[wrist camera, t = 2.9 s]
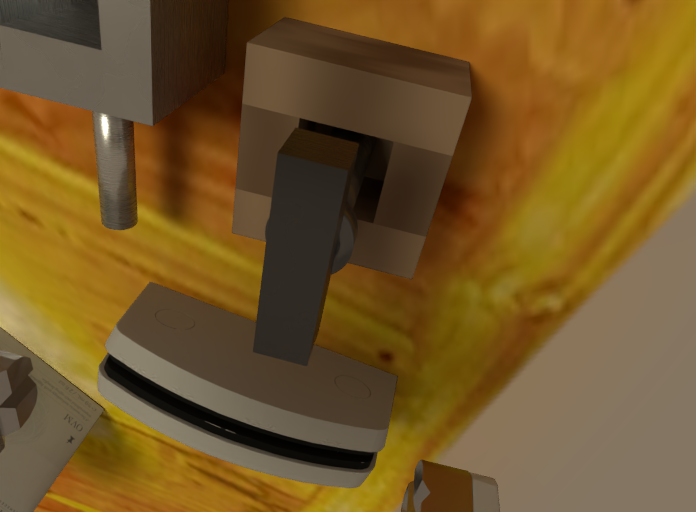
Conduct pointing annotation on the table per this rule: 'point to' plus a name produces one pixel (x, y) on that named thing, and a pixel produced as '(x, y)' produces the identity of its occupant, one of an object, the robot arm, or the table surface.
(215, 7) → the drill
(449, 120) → the brown square ring block
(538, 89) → the table surface
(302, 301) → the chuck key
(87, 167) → the table surface
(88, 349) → the table surface
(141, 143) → the table surface
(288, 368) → the grey curved-top slotted block
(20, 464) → the skincare box
